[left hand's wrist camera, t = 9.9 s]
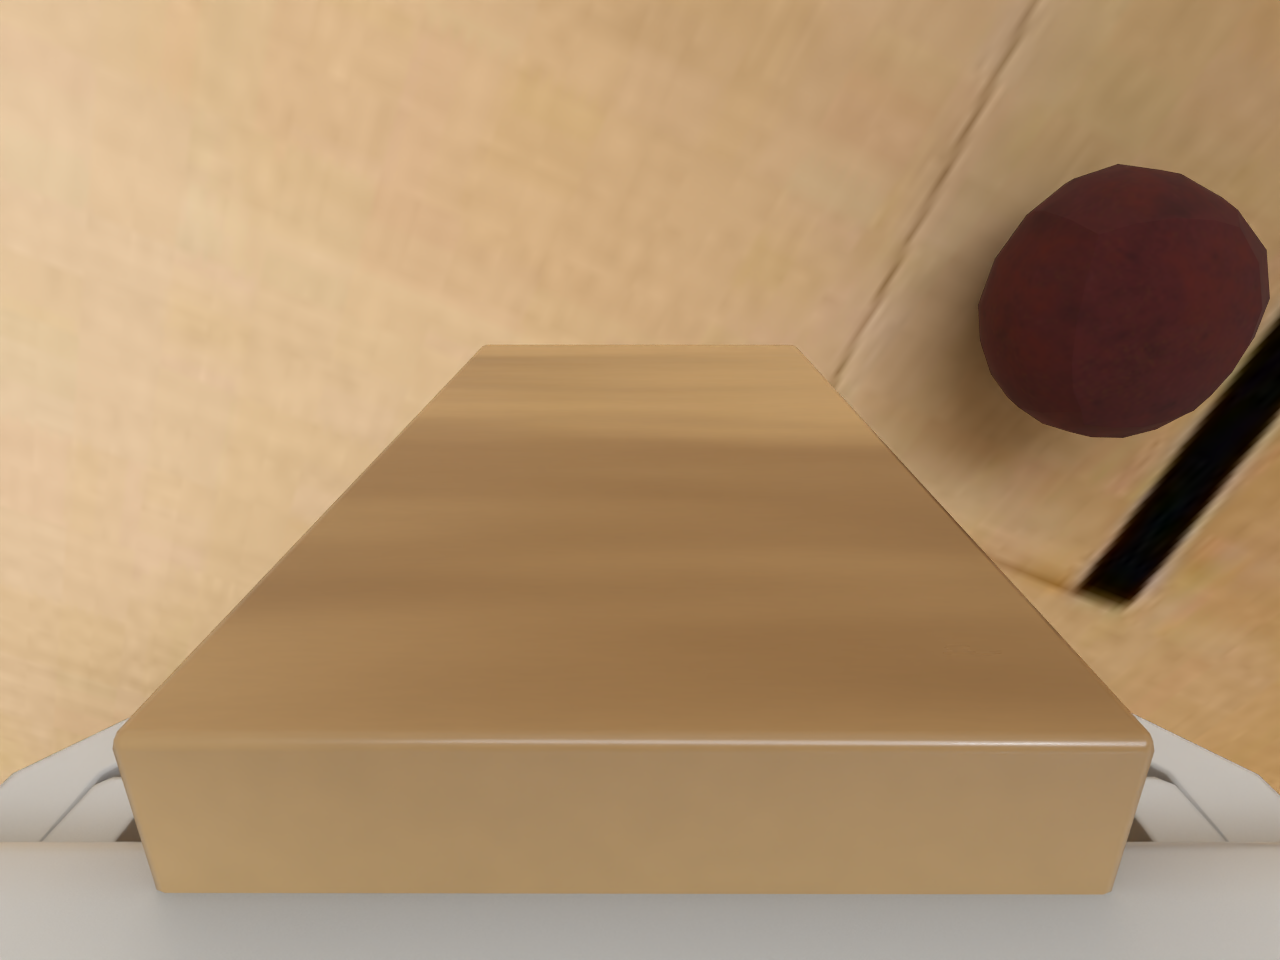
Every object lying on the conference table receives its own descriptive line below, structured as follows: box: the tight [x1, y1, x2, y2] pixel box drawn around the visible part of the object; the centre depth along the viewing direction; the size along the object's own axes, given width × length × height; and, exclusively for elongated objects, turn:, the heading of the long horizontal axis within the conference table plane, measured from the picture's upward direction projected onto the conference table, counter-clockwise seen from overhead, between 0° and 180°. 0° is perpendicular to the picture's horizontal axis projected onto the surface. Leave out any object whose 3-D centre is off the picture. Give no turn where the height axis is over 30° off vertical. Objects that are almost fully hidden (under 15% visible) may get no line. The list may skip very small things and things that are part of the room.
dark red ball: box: [978, 164, 1270, 438], centre depth 23 cm, size 7×8×7 cm
